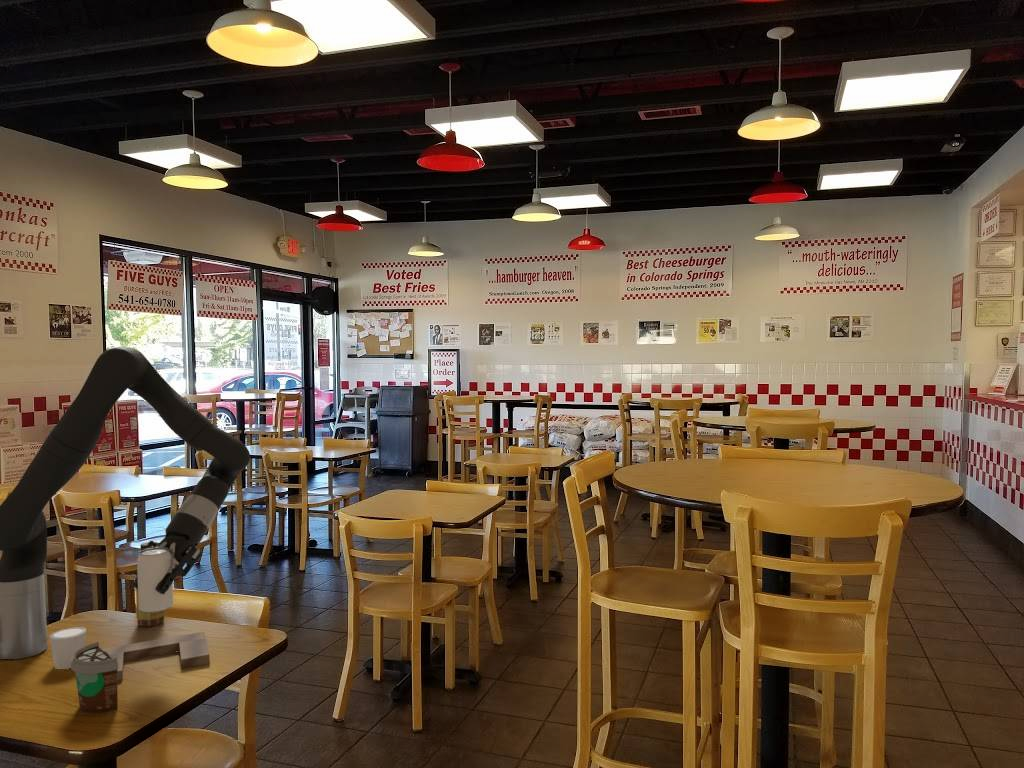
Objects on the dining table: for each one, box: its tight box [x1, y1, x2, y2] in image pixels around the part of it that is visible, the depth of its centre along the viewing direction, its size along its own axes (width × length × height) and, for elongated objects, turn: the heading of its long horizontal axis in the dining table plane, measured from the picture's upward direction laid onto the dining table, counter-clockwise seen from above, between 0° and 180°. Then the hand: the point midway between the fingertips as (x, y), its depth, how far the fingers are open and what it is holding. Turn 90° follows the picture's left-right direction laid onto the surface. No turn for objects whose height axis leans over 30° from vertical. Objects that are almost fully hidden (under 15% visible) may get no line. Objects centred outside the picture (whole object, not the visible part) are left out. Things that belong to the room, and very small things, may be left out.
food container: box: [70, 641, 119, 714], centre depth 140 cm, size 12×6×10 cm, turn 45°
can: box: [136, 547, 174, 613], centre depth 154 cm, size 6×6×12 cm
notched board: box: [100, 631, 211, 682], centre depth 161 cm, size 22×15×2 cm
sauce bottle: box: [135, 541, 166, 628], centre depth 184 cm, size 6×6×20 cm
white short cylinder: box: [49, 626, 87, 670], centre depth 160 cm, size 7×7×7 cm
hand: (148, 589), depth 153 cm, fingers closed on can, 6 cm apart
